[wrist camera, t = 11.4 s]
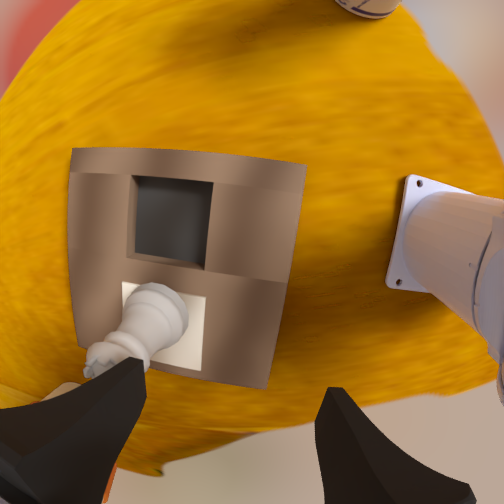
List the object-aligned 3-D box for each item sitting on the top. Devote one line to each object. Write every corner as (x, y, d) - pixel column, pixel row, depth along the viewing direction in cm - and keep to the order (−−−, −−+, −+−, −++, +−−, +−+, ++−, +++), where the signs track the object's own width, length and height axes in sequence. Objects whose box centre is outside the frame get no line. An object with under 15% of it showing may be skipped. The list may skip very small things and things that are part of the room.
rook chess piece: (202, 327, 19) (167, 409, 11) (151, 346, 20) (104, 419, 12) (169, 269, 18) (109, 328, 10) (119, 293, 19) (52, 351, 11)
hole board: (304, 166, 18) (307, 164, 16) (266, 377, 22) (266, 391, 20) (83, 148, 18) (70, 147, 16) (86, 338, 22) (77, 347, 20)
